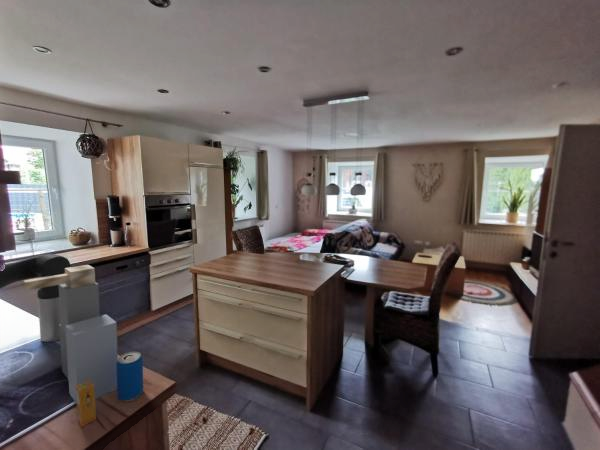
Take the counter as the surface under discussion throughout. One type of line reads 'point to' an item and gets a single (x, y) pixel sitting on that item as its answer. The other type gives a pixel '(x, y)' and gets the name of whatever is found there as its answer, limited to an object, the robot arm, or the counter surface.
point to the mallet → (65, 278)
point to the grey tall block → (92, 354)
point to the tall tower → (76, 311)
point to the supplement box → (85, 402)
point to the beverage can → (129, 376)
